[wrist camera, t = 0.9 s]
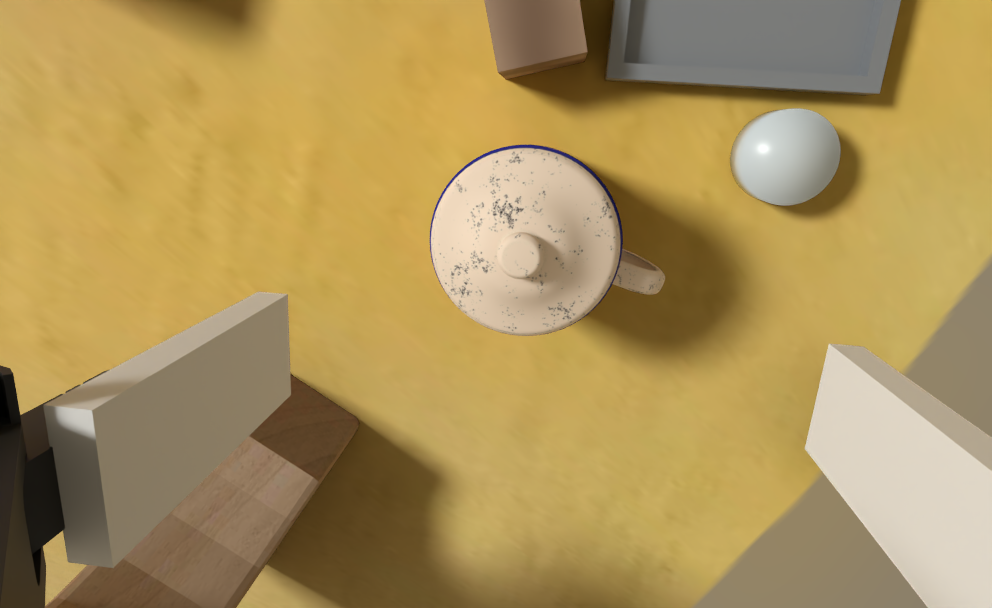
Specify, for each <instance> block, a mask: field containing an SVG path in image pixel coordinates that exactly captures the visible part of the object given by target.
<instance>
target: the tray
mask: <svg viewBox="0 0 992 608" xmlns="http://www.w3.org/2000/svg"><path fill="white" fill-rule="evenodd" d="M900 3H901V0H613V9H612V18H611V28H610V37H609V47H608V56H607V65H606V75H605V80H609V81H627V82H644V83H661V84H678V85H696V86H713V87H730V88H748V89H765V90H782V91H799V92H817V93H834V94H851V95H872V94H880V90H881V86H882V81H883V77H884V73H885V68H886V64H887V59H888V55H889V51H890V46H891V42H892V38H893V33H894V29H895V24H896V20H897V16H898V11H899V7H900Z"/></svg>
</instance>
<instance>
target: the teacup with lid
mask: <svg viewBox="0 0 992 608" xmlns="http://www.w3.org/2000/svg"><path fill="white" fill-rule="evenodd" d="M622 245H623V237H622V226H621V221H620V217H619V213H618V210H617V207H616V205H615V202H614V200H613V198H612V196H611V194H610V193H609V191H608V189H607V188H606V186H605V185H604V184H603V182H602V181H601V180H600V179H599V177H598V176H597V175H596V174H595V173H594V172H593V171H592V170H590V169H589V168H588V167H587V166H586V165H585V164H583V163H582V162H580V161H579V160H577V159H576V158H574V157H572V156H570V155H568V154H566V153H564V152H562V151H559V150H556V149H553V148H549V147H544V146H537V145H515V146H508V147H503V148H499V149H496V150H493V151H490V152H488V153H486V154H483V155H482V156H480V157H478V158H476V159H474V160H473V161H471V162H470V163H469V164H467V165H466V166H465V167H464V168H462V169H461V170H460V171H459V172H458V173H457V174H456V175H455V176H454V177H453V178H452V180H451V181H450V182H449V184H448V185H447V186H446V188H445V189H444V191H443V193H442V194H441V196H440V198H439V200H438V202H437V205H436V208H435V210H434V214H433V218H432V222H431V228H430V251H431V258H432V262H433V266H434V269H435V272H436V275H437V277H438V279H439V282H440V284H441V285H442V287H443V289H444V291H445V292H446V293H447V295H448V296H449V298H450V299H451V300H452V301H453V303H454V304H455V305H456V306H457V307H458V308H459V309H460V310H461V311H462V312H464V313H465V314H466V315H467V316H468V317H470V318H471V319H473V320H474V321H476V322H477V323H479V324H481V325H483V326H485V327H487V328H490V329H492V330H495V331H498V332H501V333H505V334H510V335H518V336H534V335H542V334H548V333H552V332H555V331H558V330H561V329H564V328H566V327H568V326H570V325H572V324H574V323H576V322H577V321H579V320H581V319H582V318H583V317H585V316H586V315H587V314H589V313H590V312H591V311H592V310H593V309H594V308H595V307H596V306H597V305H598V304H599V303H600V302H601V300H602V299H603V298H604V296H605V295H606V294H607V292H608V290H609V289H610V287H611V285H612V284H614V285H616V286H619V287H622V288H624V289H627V290H630V291H633V292H637V293H641V294H648V295H653V294H657V293H658V292H659V291H660V290H661V288H662V286H663V284H664V281H665V275H664V273H663V272H662V270H661V269H660V268H658V267H657V266H656V265H654V264H653V263H651V262H650V261H648V260H646V259H644V258H642V257H641V256H639V255H636V254H634V253H632V252H630V251H628V250H625V249H623V248H622Z"/></svg>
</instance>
